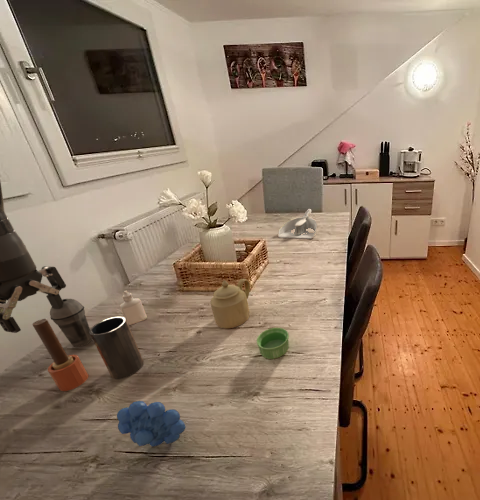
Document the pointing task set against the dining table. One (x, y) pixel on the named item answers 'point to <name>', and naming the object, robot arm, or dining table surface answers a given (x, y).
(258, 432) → the dining table surface
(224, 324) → the sugar bowl
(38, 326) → the brown wooden rod
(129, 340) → the dark grey tumbler
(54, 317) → the beverage cup
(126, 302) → the eye dropper bottle
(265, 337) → the ramekin
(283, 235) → the dustpan and brush
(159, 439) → the grapes
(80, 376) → the brush holder
